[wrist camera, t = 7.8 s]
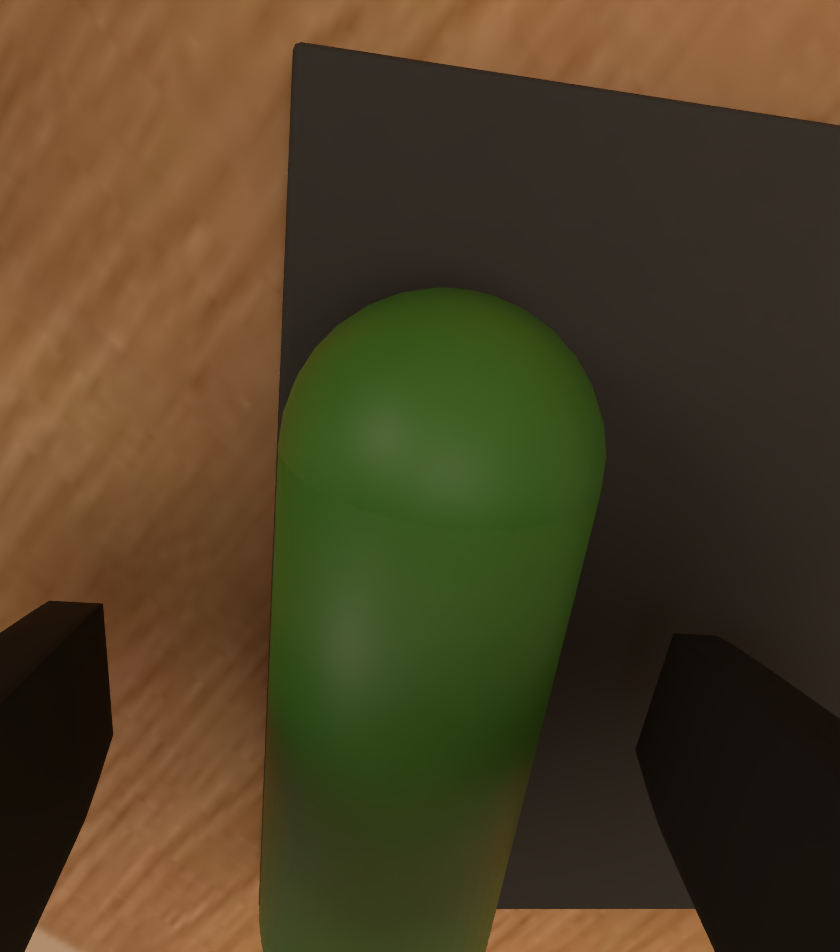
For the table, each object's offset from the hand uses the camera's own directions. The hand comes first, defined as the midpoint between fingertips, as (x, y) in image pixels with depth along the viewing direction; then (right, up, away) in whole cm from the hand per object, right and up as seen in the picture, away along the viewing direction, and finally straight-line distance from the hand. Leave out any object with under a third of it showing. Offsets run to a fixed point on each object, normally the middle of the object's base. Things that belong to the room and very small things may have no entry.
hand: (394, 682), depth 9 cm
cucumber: (0, 0, -1) cm, 1 cm away
